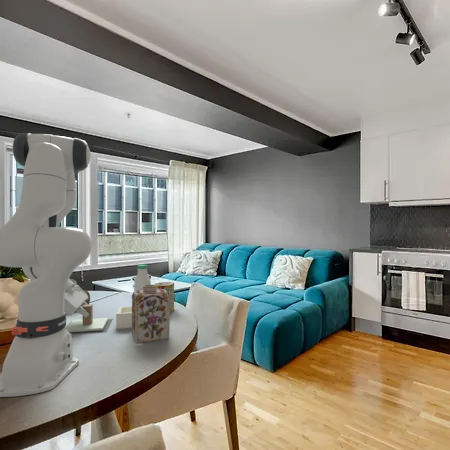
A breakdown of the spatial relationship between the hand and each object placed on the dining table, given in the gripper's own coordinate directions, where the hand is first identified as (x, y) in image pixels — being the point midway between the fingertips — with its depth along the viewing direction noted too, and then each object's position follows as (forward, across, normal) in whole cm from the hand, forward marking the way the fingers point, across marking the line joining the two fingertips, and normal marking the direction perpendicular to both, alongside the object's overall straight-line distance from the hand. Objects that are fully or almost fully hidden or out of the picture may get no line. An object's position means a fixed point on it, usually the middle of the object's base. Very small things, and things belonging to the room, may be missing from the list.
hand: (89, 313), depth 122 cm
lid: (+3, 0, +4) cm, 4 cm away
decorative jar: (+20, -14, -12) cm, 28 cm away
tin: (-4, +27, +11) cm, 30 cm away
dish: (+15, 0, -7) cm, 16 cm away
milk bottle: (+17, +26, -9) cm, 32 cm away
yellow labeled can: (+24, +19, -16) cm, 35 cm away
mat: (+3, 0, +4) cm, 5 cm away
